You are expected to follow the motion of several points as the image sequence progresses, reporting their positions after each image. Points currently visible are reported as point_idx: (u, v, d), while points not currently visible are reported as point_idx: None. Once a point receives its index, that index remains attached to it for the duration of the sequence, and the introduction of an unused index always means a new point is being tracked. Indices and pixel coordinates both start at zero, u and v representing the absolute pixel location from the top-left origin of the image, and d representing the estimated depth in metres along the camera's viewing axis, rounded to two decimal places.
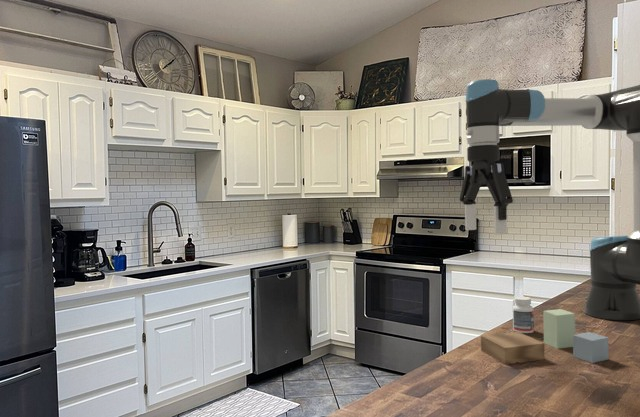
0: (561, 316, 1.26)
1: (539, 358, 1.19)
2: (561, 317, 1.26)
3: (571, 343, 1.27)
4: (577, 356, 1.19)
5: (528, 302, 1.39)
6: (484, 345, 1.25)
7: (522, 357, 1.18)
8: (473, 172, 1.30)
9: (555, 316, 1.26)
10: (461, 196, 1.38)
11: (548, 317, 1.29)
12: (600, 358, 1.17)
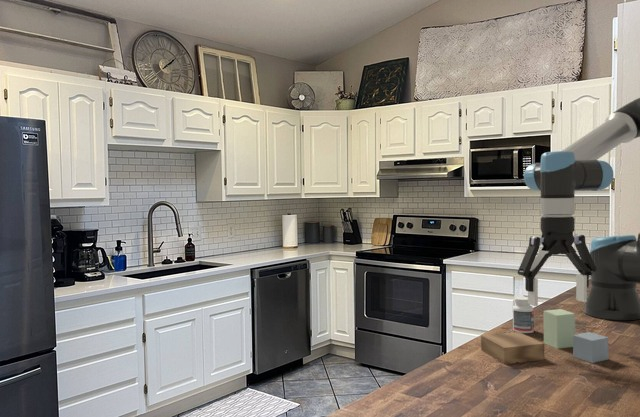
0: (561, 316, 1.26)
1: (539, 358, 1.19)
2: (561, 317, 1.26)
3: (571, 343, 1.27)
4: (577, 356, 1.19)
5: None
6: (484, 345, 1.25)
7: (522, 357, 1.18)
8: None
9: (555, 316, 1.26)
10: None
11: (548, 317, 1.29)
12: (600, 358, 1.17)
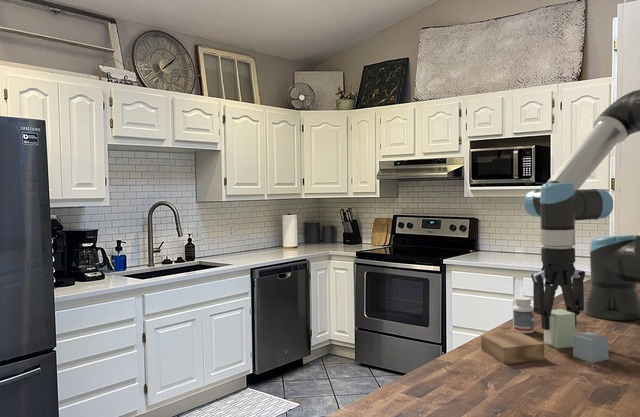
0: (561, 316, 1.26)
1: (539, 358, 1.18)
2: (561, 317, 1.26)
3: (571, 343, 1.27)
4: (577, 356, 1.19)
5: (528, 302, 1.39)
6: (484, 345, 1.25)
7: (521, 357, 1.18)
8: None
9: (555, 316, 1.26)
10: None
11: None
12: (600, 358, 1.17)
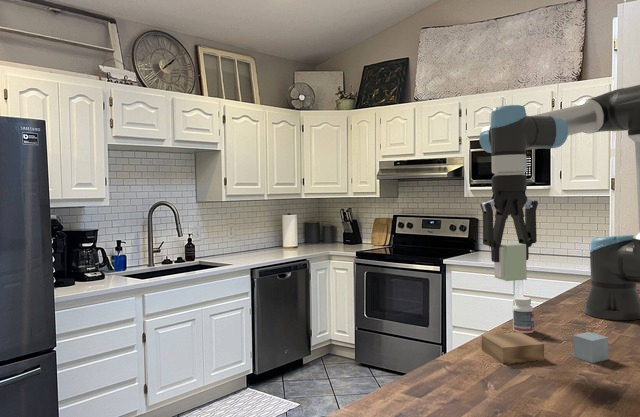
0: (511, 246, 1.19)
1: (538, 359, 1.18)
2: (511, 248, 1.19)
3: (522, 276, 1.20)
4: (577, 356, 1.19)
5: (528, 302, 1.39)
6: (484, 344, 1.25)
7: (521, 358, 1.18)
8: None
9: (505, 247, 1.19)
10: None
11: None
12: (600, 358, 1.17)
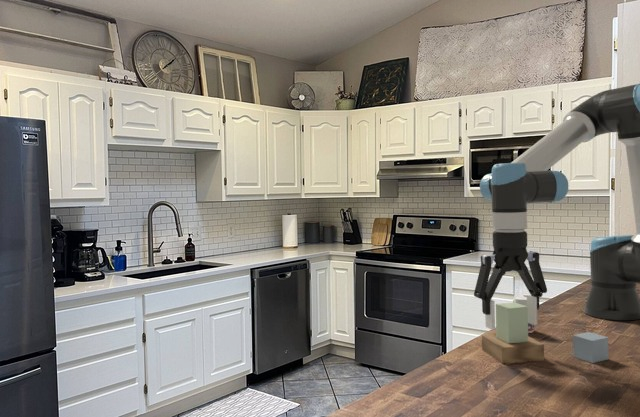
0: (513, 309, 1.19)
1: (538, 359, 1.18)
2: (513, 310, 1.19)
3: (523, 338, 1.20)
4: (577, 356, 1.19)
5: None
6: (485, 344, 1.25)
7: (520, 358, 1.18)
8: None
9: (507, 309, 1.20)
10: None
11: (500, 310, 1.22)
12: (600, 358, 1.17)
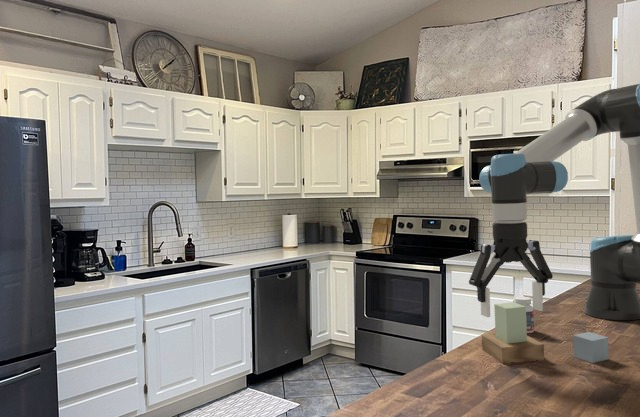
0: (511, 309, 1.20)
1: (538, 359, 1.18)
2: (511, 311, 1.20)
3: (522, 338, 1.20)
4: (577, 356, 1.19)
5: (528, 302, 1.39)
6: (485, 344, 1.25)
7: (520, 358, 1.18)
8: None
9: (504, 309, 1.20)
10: None
11: (498, 310, 1.22)
12: (600, 358, 1.17)
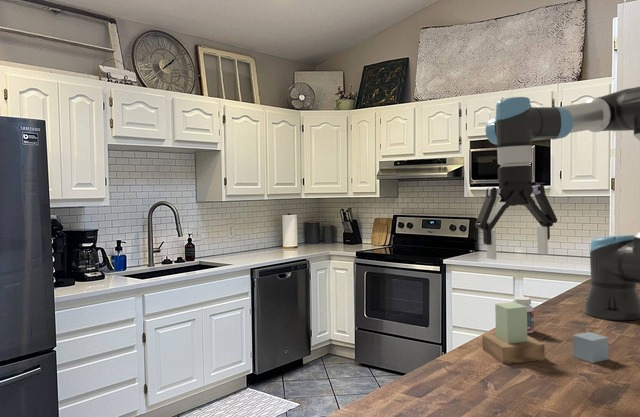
0: (512, 309, 1.20)
1: (539, 359, 1.18)
2: (512, 311, 1.20)
3: (523, 338, 1.21)
4: (577, 356, 1.19)
5: (528, 302, 1.39)
6: (485, 344, 1.25)
7: (521, 358, 1.18)
8: None
9: (505, 309, 1.20)
10: None
11: (499, 310, 1.22)
12: (600, 358, 1.17)
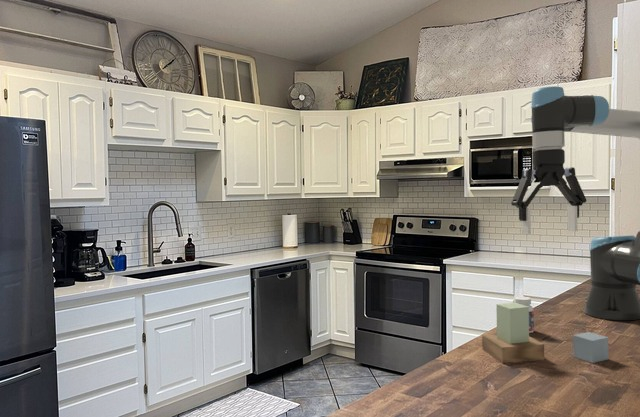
0: (514, 309, 1.19)
1: (538, 359, 1.18)
2: (514, 311, 1.19)
3: (525, 338, 1.20)
4: (577, 356, 1.19)
5: (528, 302, 1.39)
6: (485, 344, 1.26)
7: (520, 358, 1.18)
8: None
9: (508, 309, 1.19)
10: None
11: (501, 311, 1.22)
12: (600, 358, 1.17)
